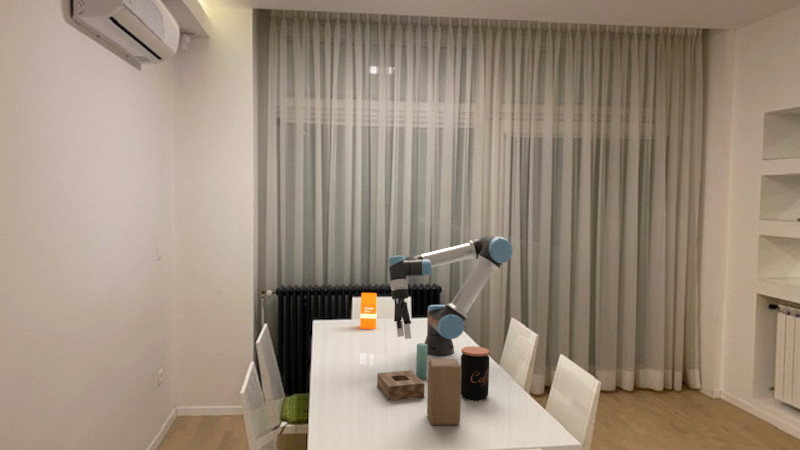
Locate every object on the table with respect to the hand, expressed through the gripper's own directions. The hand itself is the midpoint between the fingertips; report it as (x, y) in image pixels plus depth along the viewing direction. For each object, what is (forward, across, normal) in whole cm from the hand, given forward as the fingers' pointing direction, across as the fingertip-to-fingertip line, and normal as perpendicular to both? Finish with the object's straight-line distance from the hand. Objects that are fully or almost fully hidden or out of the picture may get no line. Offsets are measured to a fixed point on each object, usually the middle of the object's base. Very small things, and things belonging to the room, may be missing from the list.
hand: (404, 337), depth 245 cm
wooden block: (+34, +44, +21) cm, 59 cm away
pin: (+18, +5, +6) cm, 20 cm away
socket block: (+23, +24, +1) cm, 33 cm away
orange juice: (-15, -70, -37) cm, 81 cm away
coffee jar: (+28, +20, +29) cm, 45 cm away
